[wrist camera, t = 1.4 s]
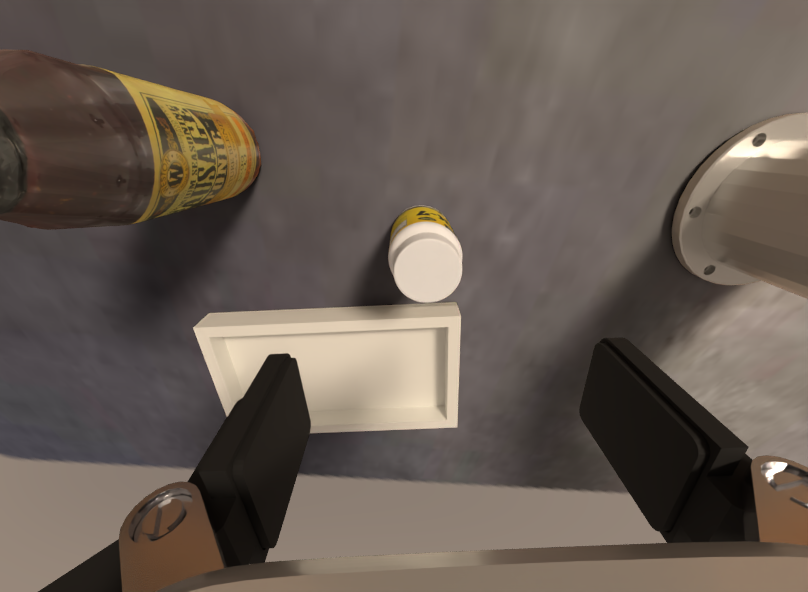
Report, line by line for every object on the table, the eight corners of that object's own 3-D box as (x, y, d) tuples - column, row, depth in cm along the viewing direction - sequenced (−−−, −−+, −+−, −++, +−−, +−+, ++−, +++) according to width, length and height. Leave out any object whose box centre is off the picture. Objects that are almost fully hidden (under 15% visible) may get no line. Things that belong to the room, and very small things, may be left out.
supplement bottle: (462, 226, 26) (487, 262, 19) (427, 272, 28) (438, 322, 20) (412, 191, 25) (417, 215, 17) (379, 242, 27) (371, 283, 19)
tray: (456, 302, 29) (460, 315, 27) (453, 408, 34) (457, 427, 32) (209, 313, 29) (193, 327, 27) (245, 416, 35) (234, 436, 32)
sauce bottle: (258, 206, 25) (-83, 373, 7) (173, 177, 24) (-455, 287, 6) (274, 115, 23) (-198, 34, 5) (179, 78, 22) (-862, -199, 4)
